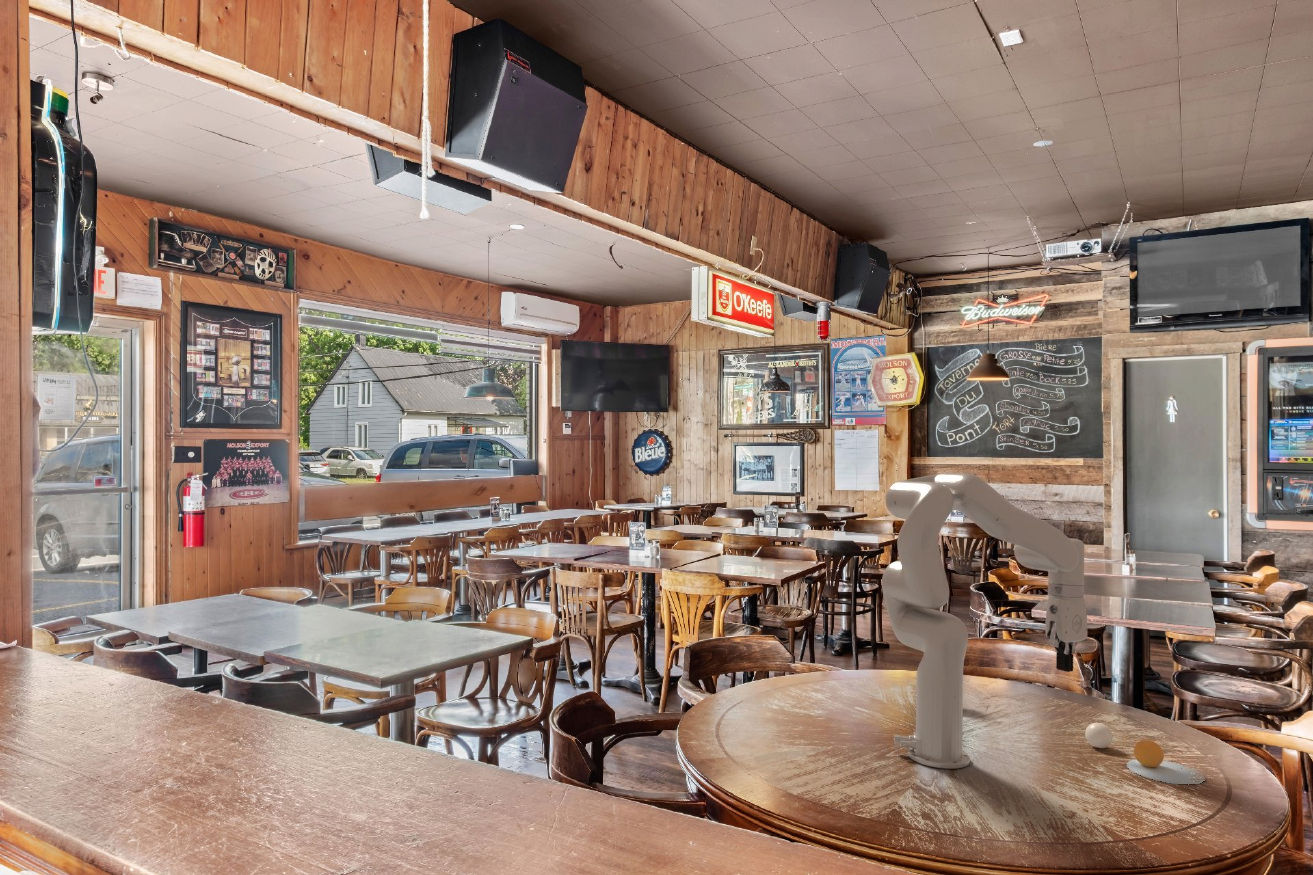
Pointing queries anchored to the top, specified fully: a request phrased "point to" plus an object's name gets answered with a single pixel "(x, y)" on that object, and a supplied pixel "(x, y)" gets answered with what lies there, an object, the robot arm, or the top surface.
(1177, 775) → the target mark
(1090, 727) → the cue ball
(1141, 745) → the orange ball
